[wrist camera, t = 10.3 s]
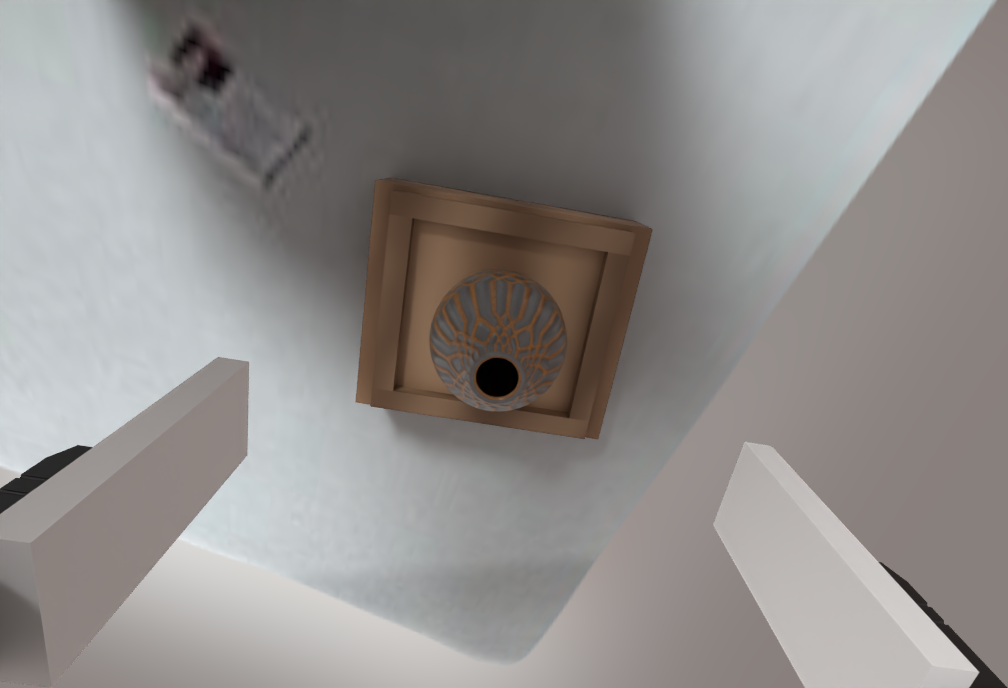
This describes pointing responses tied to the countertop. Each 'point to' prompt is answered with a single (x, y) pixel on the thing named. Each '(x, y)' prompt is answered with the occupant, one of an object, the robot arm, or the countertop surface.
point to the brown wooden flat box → (485, 246)
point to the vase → (498, 340)
